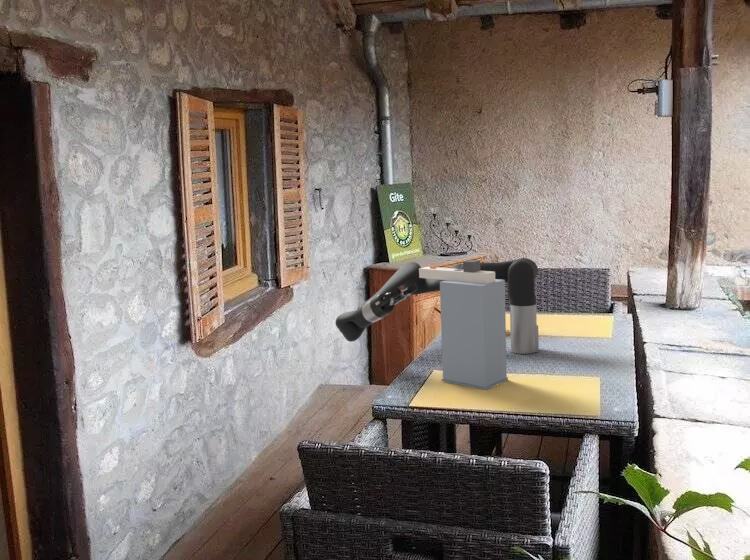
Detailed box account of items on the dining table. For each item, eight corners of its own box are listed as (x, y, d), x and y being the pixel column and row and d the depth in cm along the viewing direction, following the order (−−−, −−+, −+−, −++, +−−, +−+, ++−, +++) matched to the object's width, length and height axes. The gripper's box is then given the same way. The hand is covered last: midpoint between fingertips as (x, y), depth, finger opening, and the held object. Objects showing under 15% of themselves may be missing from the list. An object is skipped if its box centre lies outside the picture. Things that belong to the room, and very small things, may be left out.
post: (441, 381, 245) (438, 282, 239) (464, 371, 254) (461, 276, 249) (485, 390, 234) (483, 286, 228) (508, 379, 243) (506, 279, 238)
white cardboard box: (419, 277, 249) (418, 258, 248) (427, 275, 253) (427, 256, 252) (487, 283, 232) (486, 263, 231) (495, 281, 236) (494, 261, 235)
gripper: (395, 314, 271) (426, 294, 261) (368, 321, 261) (399, 301, 250) (386, 295, 272) (416, 275, 262) (359, 301, 262) (389, 281, 251)
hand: (408, 288), depth 256 cm, fingers open, 8 cm apart
